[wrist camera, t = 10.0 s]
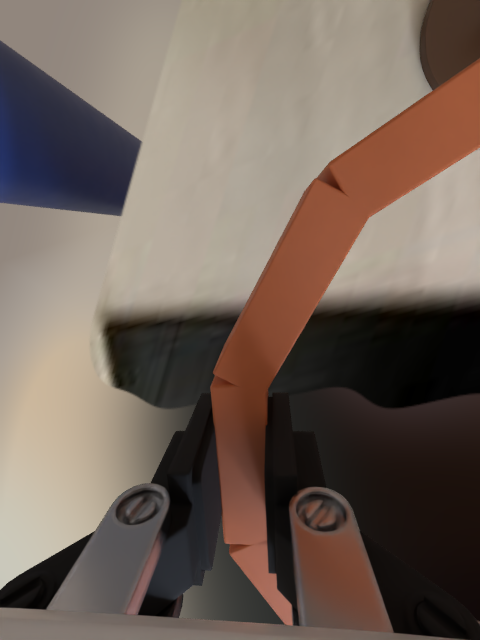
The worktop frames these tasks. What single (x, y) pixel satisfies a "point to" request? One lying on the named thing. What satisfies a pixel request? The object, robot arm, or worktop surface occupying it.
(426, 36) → the ring post
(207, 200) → the worktop surface
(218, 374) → the ring
